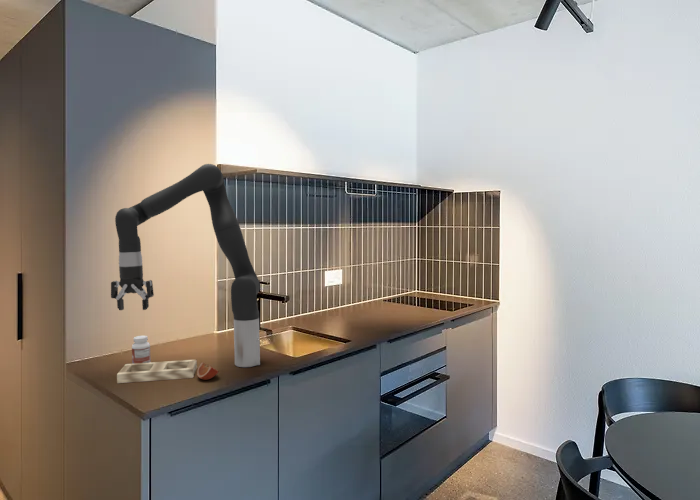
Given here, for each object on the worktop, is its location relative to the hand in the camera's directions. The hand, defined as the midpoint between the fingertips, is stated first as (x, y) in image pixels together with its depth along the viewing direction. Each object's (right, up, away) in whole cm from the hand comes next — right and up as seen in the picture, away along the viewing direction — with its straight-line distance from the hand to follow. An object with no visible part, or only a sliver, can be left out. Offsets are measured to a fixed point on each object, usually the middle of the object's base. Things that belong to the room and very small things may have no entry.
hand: (133, 309), depth 167 cm
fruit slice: (+29, -23, -8) cm, 38 cm away
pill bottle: (+1, -22, +5) cm, 22 cm away
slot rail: (+11, -22, -4) cm, 25 cm away
